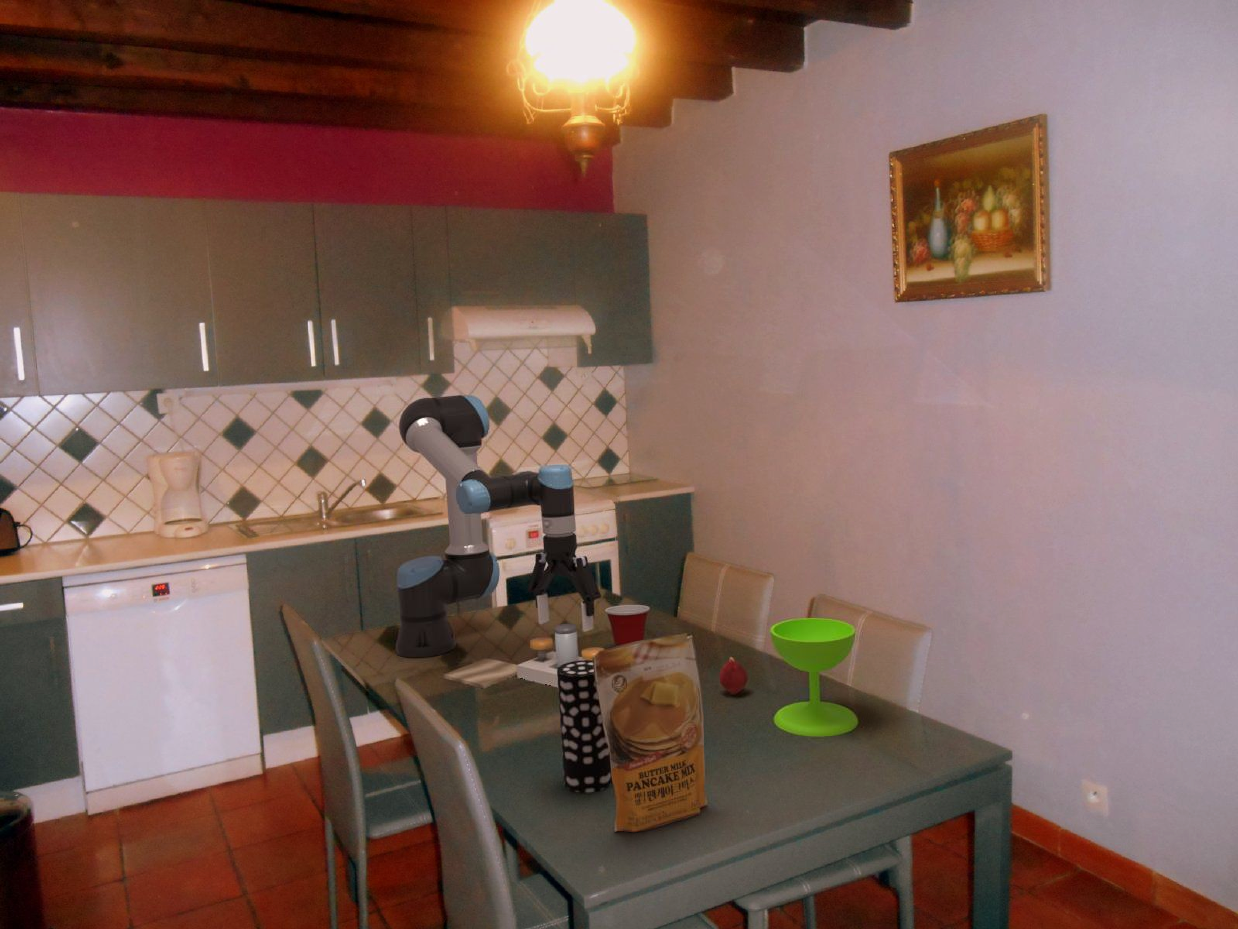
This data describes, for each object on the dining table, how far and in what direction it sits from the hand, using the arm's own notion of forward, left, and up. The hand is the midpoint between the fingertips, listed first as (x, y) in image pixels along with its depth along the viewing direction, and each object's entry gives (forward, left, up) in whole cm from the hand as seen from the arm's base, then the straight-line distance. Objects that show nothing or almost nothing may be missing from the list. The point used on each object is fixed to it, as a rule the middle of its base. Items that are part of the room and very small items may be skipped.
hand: (565, 626), depth 212 cm
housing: (0, 0, -12) cm, 12 cm away
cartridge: (0, 0, -12) cm, 12 cm away
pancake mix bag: (+56, -41, -12) cm, 71 cm away
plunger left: (-8, 0, -9) cm, 12 cm away
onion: (+38, +10, -12) cm, 41 cm away
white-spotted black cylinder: (+39, -38, -12) cm, 56 cm away
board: (-19, -8, -12) cm, 24 cm away
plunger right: (+8, 0, -9) cm, 12 cm away
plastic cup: (+2, +20, -12) cm, 24 cm away
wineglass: (+59, +6, -12) cm, 60 cm away
